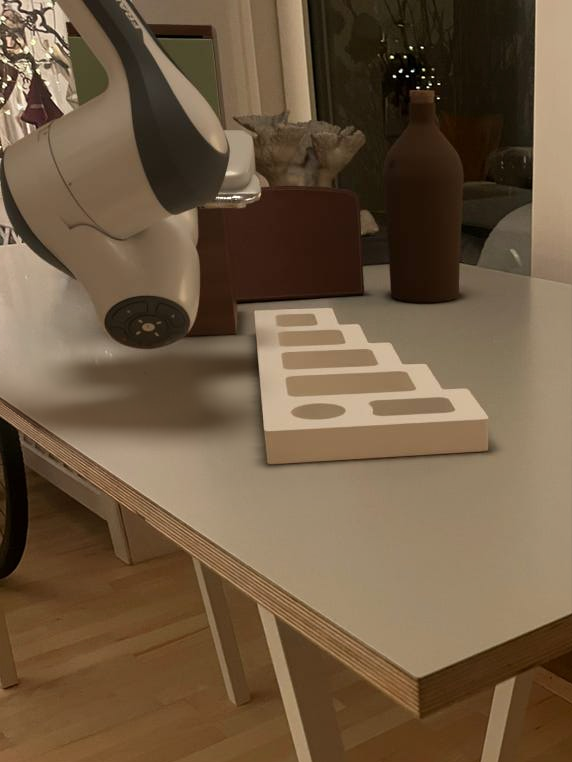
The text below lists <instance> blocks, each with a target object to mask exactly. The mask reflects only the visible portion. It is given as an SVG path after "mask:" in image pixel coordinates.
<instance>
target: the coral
mask: <svg viewBox="0 0 572 762" xmlns="http://www.w3.org/2000/svg"><path fill="white" fill-rule="evenodd" d="M290 114H291V111H290V110H289V109H286V110H285V109H284V110H283V111H282V112H280V113H278V114H275V115H272V116H271V115H266V114H264V115H260V114H259V115H256V114H251V115H243V116H235V115H234V116H232V120H233V121H234V122H236V123H237V124H238V125H240V126H241V127H243V128H244V129H246V130H247V131H250V132H252V133H254V134H256V136H255V135H252V139H253V145H254V154H255V168H256V170H255V173H258V174H259V175H260V176H262V177H263V178H264V179H265V180H266V182H267V184H268V187H269V186H316V187H330V188H333V186H332V185H333V184H332V183H333V180H334V179H335V177H336V176H337V175H338V174H339V173H340V172H341V171H342V170H344V169H345V167H346V166H347V165H348V164H349V163H350V162H351V161H352V159H353V158H354V156H355V155H356V154H357V153H358V152H359V150H360V149H361V148H362V147H363V146H364V145H365V144H366V135H365V134H364V133H363V132H362V131H361V130H360V129H357V130H356V131H355V126H354V125H349V126H346V127H345V128H344V129H342V128H341V127H340V126H338V125H333V124H331V123H329V122H327V121H325V120H319V121H318V120H316V119H309V120H308V121H304V122H302V121H297V122H287V120H288V118H289V116H290ZM354 131H355V132H354ZM351 134H352V135H351ZM360 216H361V241H362V260H363V266H366V265H369V266H370V265H384V264H389V252H388V238H387V237H386V236H383V235H382V234H379V230H380V228H379V226H378V224H377V222H376V220H375V218H374V216H373V215H372V214H371V213H370V211H369V210H367V209H360Z"/></svg>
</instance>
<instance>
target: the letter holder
mask: <svg viewBox="0 0 572 762" xmlns="http://www.w3.org/2000/svg"><path fill="white" fill-rule="evenodd" d="M226 210H227V219H228V228H229V237H230V246H231V256H232V265H233V274H234V283H235V292H236V302H237V303H250V302H251V303H252V302H266V301H279V300H281V301H282V300H296V299H297V300H298V299H299V300H301V299H316V298H317V299H318V298H319V299H320V298H335V297H347V296H348V297H349V296H351V297H352V296H364V295H365V294H364V292H365V281H364V280H365V279H364V265H363V260H362V241H361V216H360V210H361V203H360V199H359V196H358V194H357V193H356V192H355V191H353V190H350V189H345V188H338V187H337V188H336V187H332V188H330V187H316V186H269V185H268V186H261V196H260V199H259V200H257V201H254V202H252V203H248V204H246V207H243V208H226Z"/></svg>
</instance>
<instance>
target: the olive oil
mask: <svg viewBox="0 0 572 762" xmlns="http://www.w3.org/2000/svg"><path fill="white" fill-rule="evenodd" d="M408 94H409V95H408V96H409V102H408V120H409V122H408V125H407V127H406V128H405V129H404V130H403V132H402V133H401V134H400V136H398V138H397V140H396V141H395V142H394V143H393V144H392V146H391V147H390V149H389V150H388V152H387V154H386V156H385V159H384V163H383V168H382V185H383V186H382V188H383V199H384V200H383V201H384V210H385V211H384V212H385V225H386V236H387V237H386V238H387V239H388V252H389V263H388V265H389V283H390V296H391V297H392V298H393V299H395V300H397V301H401V302H408V303H415V304H417V303H418V304H433V303H444V302H449V301H454V300H456V299H457V298H458V297H459V294H460V268H461V267H460V265H461V263H460V262H461V239H462V219H463V217H462V216H463V200H464V199H463V197H464V179H465V178H464V175H465V174H464V168H463V164H462V161H461V157H460V155H459V153H458V152H457V150H456V149H455V148H454V146H453V145H452V143H450V141H449V140H448V139H447V138H446V136H445V134H443V132H442V131H441V130H440V129H439V127H438V126H437V123H436V102H435V90H427V89H425V90H422V89H421V90H419V89H416V90H415V89H413V90H412V89H410V90H409V92H408Z"/></svg>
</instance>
